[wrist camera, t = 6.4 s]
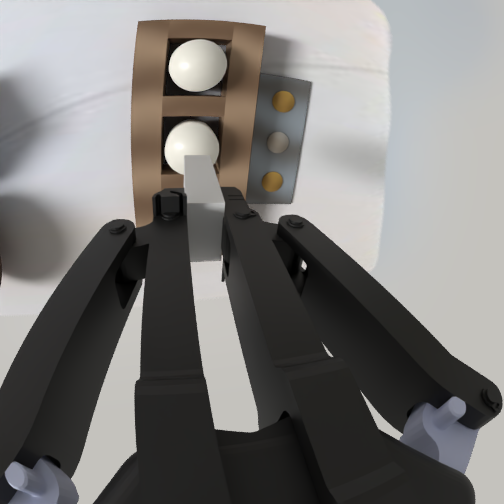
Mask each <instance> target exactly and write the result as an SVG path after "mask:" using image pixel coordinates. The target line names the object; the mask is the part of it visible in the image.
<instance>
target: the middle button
mask: <svg viewBox="0 0 504 504" xmlns="http://www.w3.org/2000/svg"><path fill="white" fill-rule="evenodd" d="M218 154H219V143H218V140H217V138H216V136H215V134H214V132H213V131H212V129H211V128H210V127H209V126H208V125H207V124H206V123H204V122H202V121H200V120H196V119H189V120H185V121H182V122H180V123H178V124H177V125H175V126H174V127H173V128H172V130H171V131H170V133H169V135H168V138H167V141H166V145H165V157H166V160H167V162H168V164H169V165H170V167H171V168H172V169H173V170H175V171H176V172H178V173H180V174H183V175H184V155H210V157H211V160H212V164H213V165H214V163H215V162H216V160H217V157H218Z"/></svg>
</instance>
